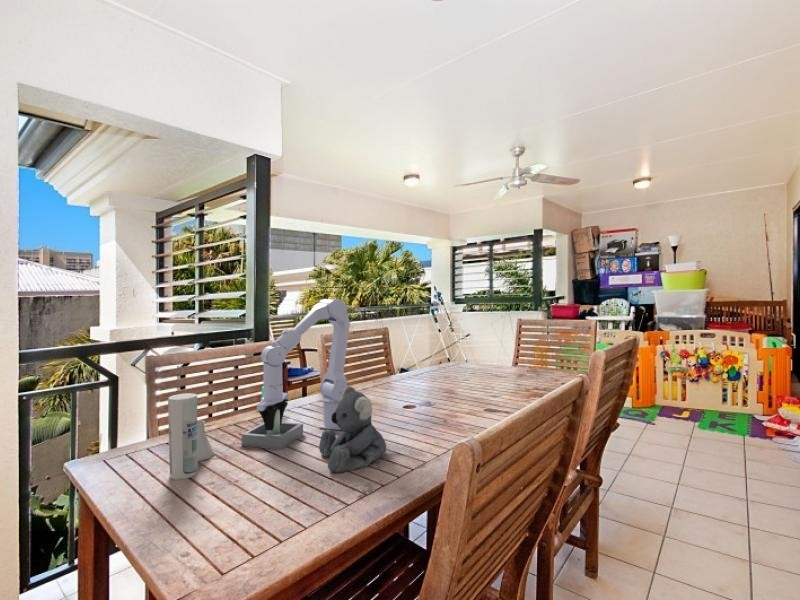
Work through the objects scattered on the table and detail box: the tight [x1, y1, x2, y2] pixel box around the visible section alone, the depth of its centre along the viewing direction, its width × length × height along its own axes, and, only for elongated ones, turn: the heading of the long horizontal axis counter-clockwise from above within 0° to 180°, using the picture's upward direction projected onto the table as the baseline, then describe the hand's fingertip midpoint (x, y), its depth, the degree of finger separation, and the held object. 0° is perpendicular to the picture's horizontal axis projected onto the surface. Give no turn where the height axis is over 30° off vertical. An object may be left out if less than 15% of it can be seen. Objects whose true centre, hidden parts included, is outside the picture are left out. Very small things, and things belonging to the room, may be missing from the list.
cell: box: [267, 409, 280, 435], centre depth 127 cm, size 4×4×8 cm
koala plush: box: [318, 385, 387, 473], centre depth 112 cm, size 17×18×20 cm
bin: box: [241, 421, 304, 451], centre depth 127 cm, size 13×13×4 cm
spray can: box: [167, 392, 199, 481], centre depth 103 cm, size 6×6×20 cm
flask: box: [197, 420, 215, 462], centre depth 114 cm, size 7×7×10 cm
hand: (273, 427), depth 127 cm, fingers closed on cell, 4 cm apart
